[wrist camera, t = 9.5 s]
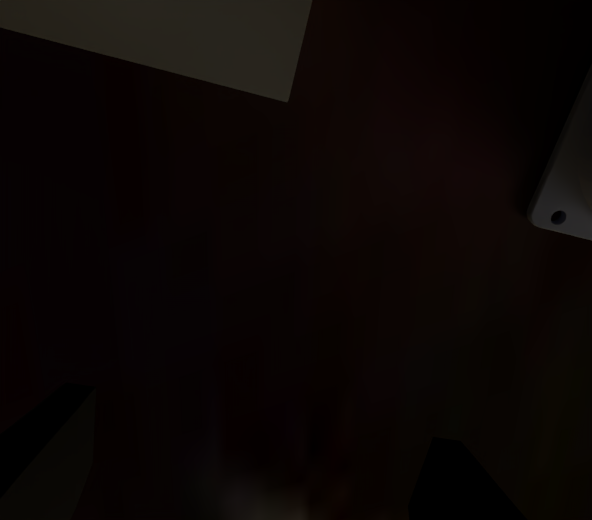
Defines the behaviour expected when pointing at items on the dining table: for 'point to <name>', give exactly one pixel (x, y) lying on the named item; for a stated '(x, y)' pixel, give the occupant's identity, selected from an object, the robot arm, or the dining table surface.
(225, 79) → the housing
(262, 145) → the dining table surface
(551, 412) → the dining table surface
